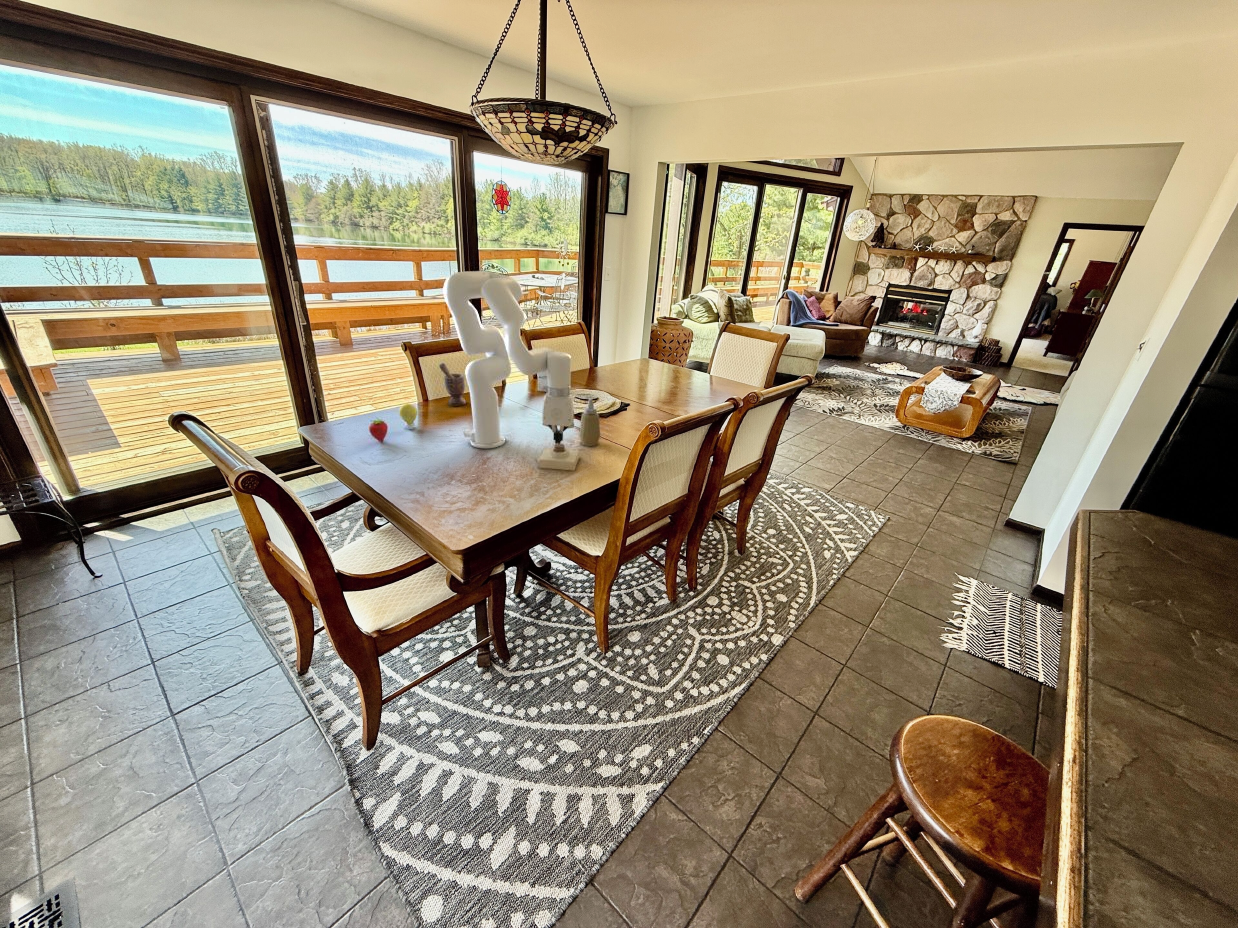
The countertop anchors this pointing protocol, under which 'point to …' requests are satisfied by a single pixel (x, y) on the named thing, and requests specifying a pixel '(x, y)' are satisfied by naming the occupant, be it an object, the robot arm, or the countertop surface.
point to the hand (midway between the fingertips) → (558, 442)
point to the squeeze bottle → (590, 425)
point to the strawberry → (378, 429)
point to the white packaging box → (542, 380)
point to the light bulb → (408, 414)
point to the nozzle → (559, 448)
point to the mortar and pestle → (454, 386)
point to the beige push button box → (559, 459)
